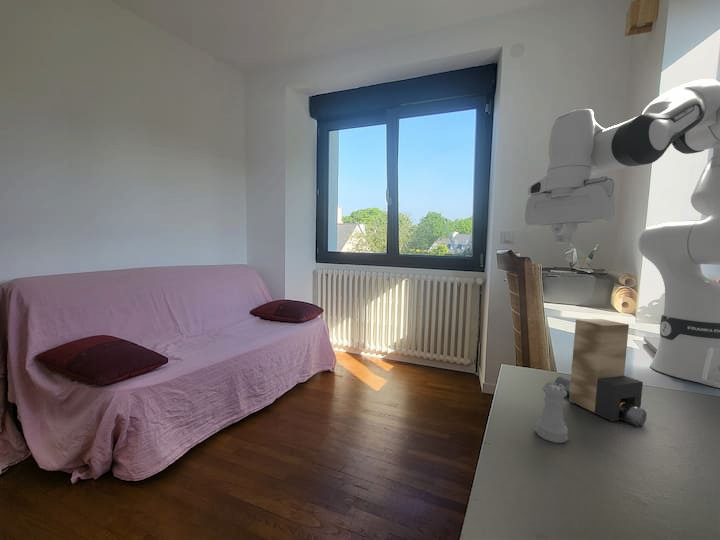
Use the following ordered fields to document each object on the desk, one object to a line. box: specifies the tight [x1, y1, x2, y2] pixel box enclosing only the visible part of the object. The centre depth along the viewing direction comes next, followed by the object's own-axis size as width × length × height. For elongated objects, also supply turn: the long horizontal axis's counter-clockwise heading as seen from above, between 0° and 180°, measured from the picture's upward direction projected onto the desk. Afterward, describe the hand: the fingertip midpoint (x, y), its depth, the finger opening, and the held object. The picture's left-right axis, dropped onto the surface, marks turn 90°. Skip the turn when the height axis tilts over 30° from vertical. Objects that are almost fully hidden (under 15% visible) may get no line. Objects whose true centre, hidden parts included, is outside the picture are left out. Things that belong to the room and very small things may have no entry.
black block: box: [594, 375, 644, 422], centre depth 59 cm, size 3×7×6 cm, turn 109°
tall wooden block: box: [568, 318, 630, 414], centre depth 62 cm, size 5×7×16 cm
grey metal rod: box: [554, 375, 647, 428], centre depth 63 cm, size 15×3×3 cm, turn 20°
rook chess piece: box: [535, 381, 569, 444], centre depth 51 cm, size 4×4×8 cm
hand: (562, 243), depth 78 cm, fingers closed
